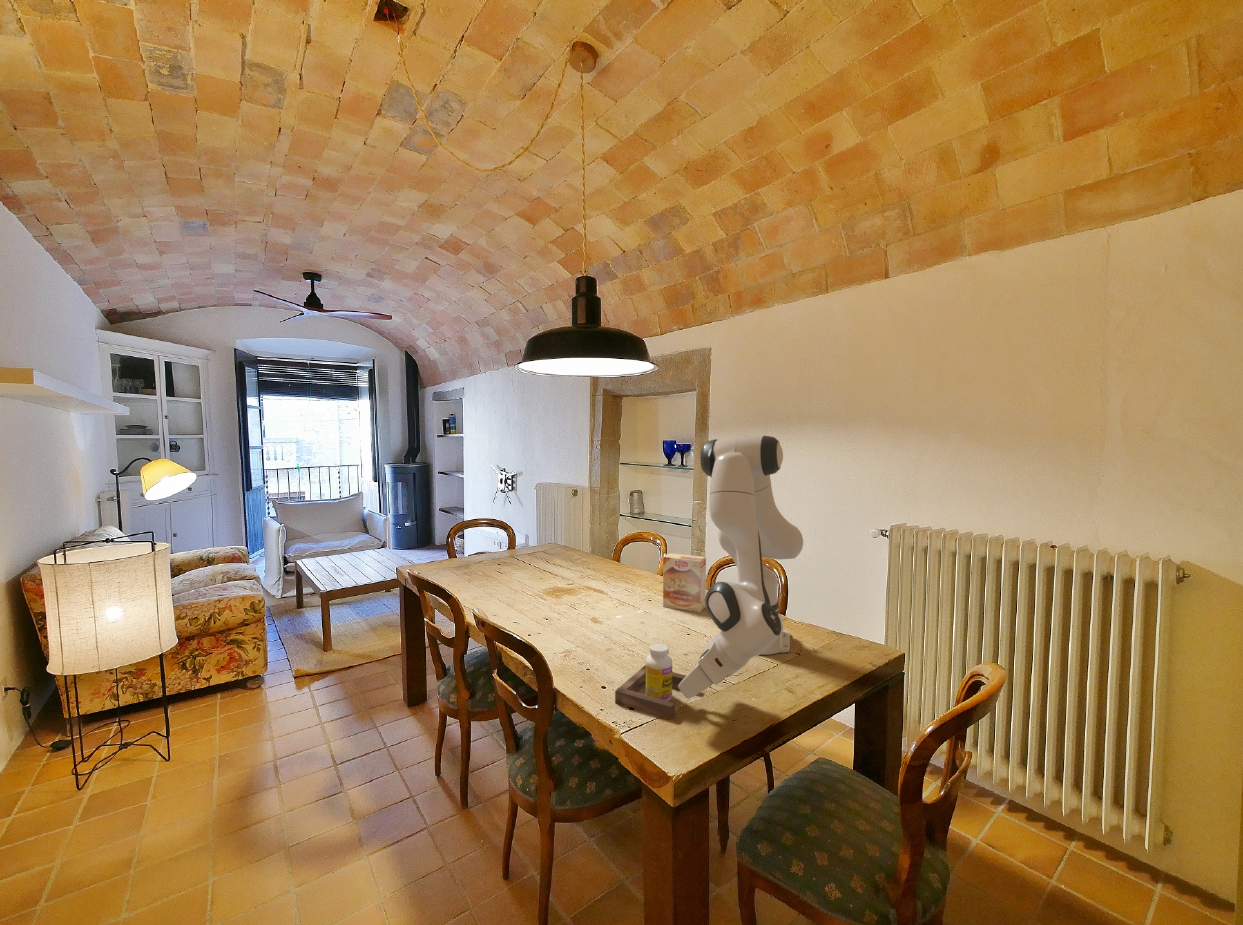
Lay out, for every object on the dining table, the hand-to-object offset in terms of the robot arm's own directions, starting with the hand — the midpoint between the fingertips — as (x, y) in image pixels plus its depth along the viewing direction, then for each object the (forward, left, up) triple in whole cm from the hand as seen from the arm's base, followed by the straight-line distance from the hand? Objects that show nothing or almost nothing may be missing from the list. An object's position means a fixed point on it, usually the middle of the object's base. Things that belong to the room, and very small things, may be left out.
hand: (684, 686), depth 126 cm
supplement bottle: (0, -7, -5) cm, 8 cm away
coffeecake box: (-65, -28, -5) cm, 71 cm away
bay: (0, -7, -4) cm, 8 cm away
